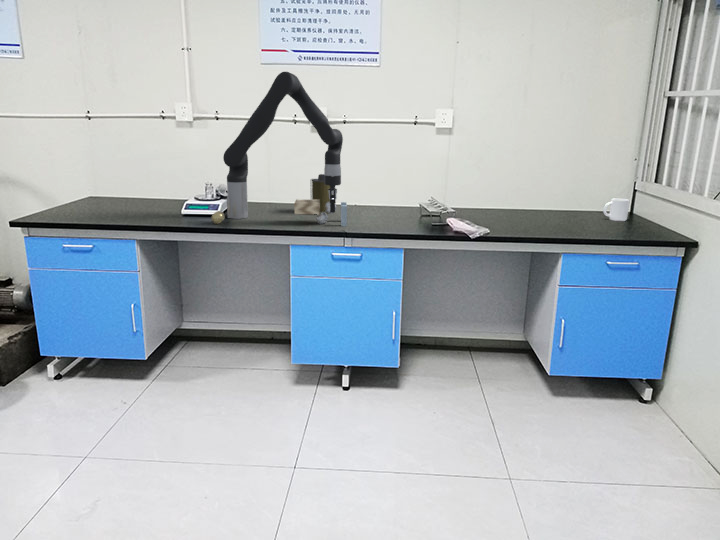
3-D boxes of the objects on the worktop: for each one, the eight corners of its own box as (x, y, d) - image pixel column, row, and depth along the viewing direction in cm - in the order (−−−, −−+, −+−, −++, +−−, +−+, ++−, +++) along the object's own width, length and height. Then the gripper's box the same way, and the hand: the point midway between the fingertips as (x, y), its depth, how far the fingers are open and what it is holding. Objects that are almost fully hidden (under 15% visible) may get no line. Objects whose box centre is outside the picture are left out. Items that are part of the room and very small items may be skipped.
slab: (294, 214, 250) (294, 203, 249) (296, 210, 262) (296, 199, 261) (319, 214, 251) (319, 203, 250) (319, 210, 262) (319, 199, 261)
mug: (605, 220, 277) (607, 200, 274) (598, 218, 285) (601, 198, 282) (629, 221, 277) (632, 200, 274) (622, 218, 285) (625, 198, 282)
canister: (333, 212, 288) (333, 173, 282) (330, 216, 278) (330, 175, 272) (313, 212, 289) (312, 173, 283) (309, 215, 279) (308, 175, 273)
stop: (341, 225, 252) (341, 206, 249) (340, 220, 265) (341, 201, 263) (346, 226, 252) (347, 206, 249) (346, 220, 265) (346, 201, 263)
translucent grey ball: (319, 211, 254) (329, 216, 254) (319, 209, 259) (329, 214, 260) (314, 221, 255) (324, 226, 255) (314, 219, 260) (324, 224, 261)
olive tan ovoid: (210, 213, 252) (221, 212, 252) (213, 211, 257) (223, 210, 257) (212, 224, 253) (223, 222, 253) (215, 222, 259) (225, 220, 259)
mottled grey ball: (325, 202, 253) (336, 203, 253) (325, 200, 258) (336, 201, 259) (324, 213, 254) (335, 214, 254) (324, 211, 260) (335, 212, 260)
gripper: (324, 172, 259) (324, 208, 264) (324, 175, 245) (324, 213, 250) (340, 173, 260) (340, 208, 264) (341, 175, 246) (341, 213, 250)
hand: (332, 211), depth 257 cm, fingers closed on mottled grey ball, 5 cm apart
